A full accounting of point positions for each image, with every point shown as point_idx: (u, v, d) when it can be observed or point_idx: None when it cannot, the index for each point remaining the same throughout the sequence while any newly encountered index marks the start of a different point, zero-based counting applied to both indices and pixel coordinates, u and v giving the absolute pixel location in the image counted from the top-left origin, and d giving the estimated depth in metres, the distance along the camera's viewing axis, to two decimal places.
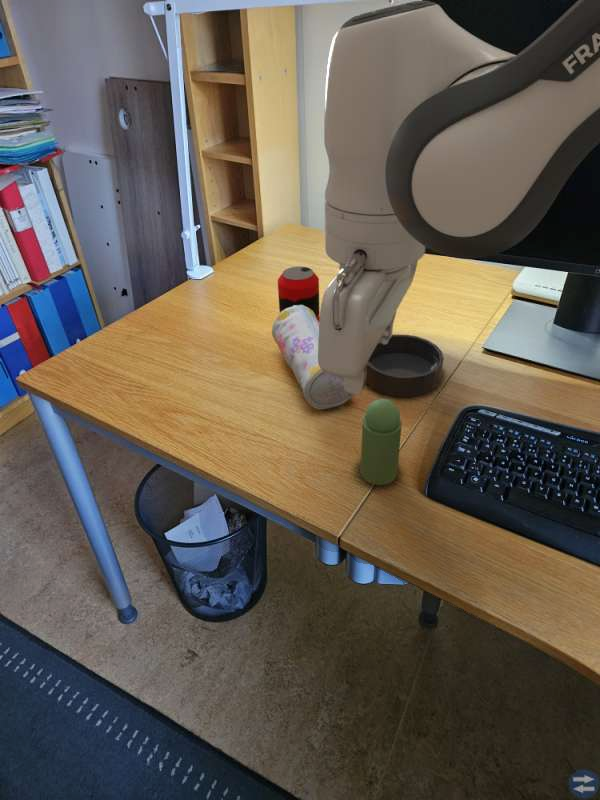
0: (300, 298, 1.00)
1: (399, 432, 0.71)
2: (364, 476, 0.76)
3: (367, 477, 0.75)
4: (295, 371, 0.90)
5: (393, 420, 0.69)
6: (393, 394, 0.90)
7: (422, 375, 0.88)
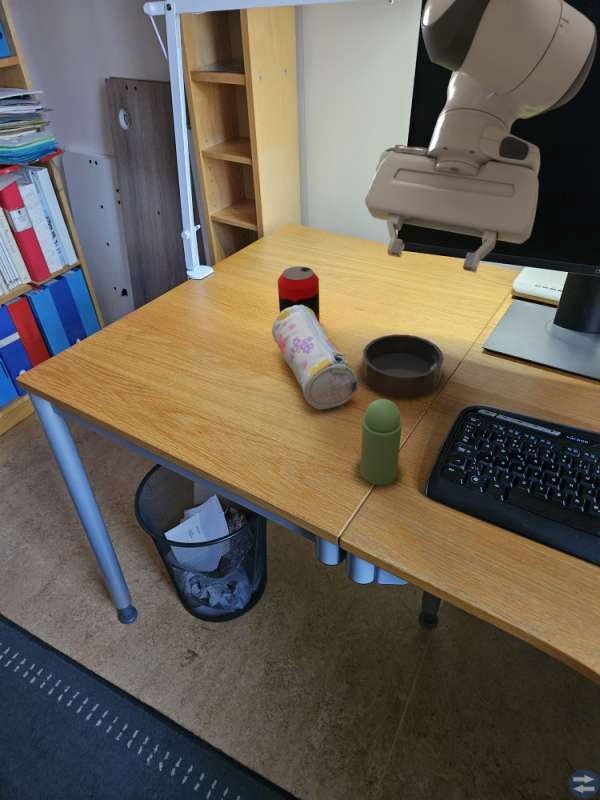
0: (300, 298, 1.00)
1: (399, 432, 0.71)
2: (364, 476, 0.76)
3: (367, 477, 0.75)
4: (295, 371, 0.90)
5: (393, 420, 0.69)
6: (393, 394, 0.90)
7: (422, 375, 0.88)
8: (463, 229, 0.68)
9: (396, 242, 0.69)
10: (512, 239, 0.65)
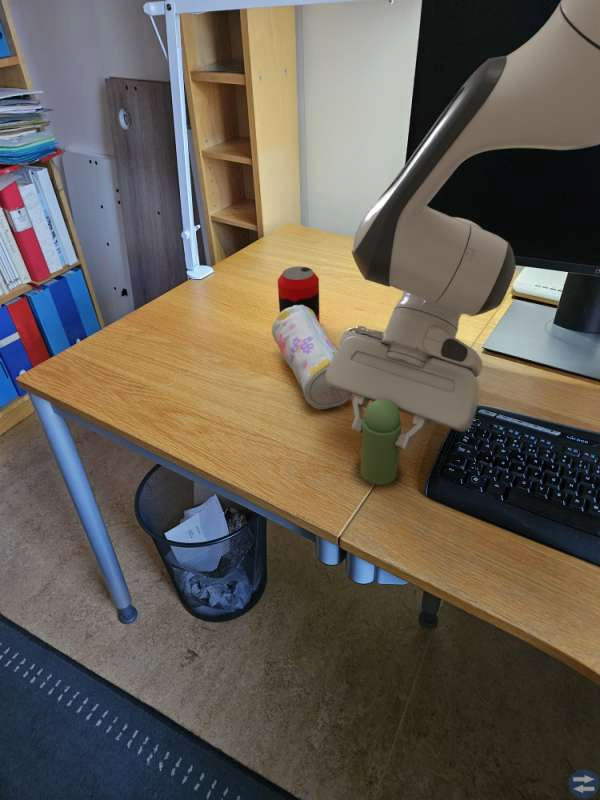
0: (300, 298, 1.00)
1: (399, 432, 0.71)
2: (364, 476, 0.76)
3: (367, 477, 0.75)
4: (295, 371, 0.90)
5: (392, 420, 0.69)
6: None
7: None
8: None
9: (359, 421, 0.74)
10: (453, 428, 0.70)
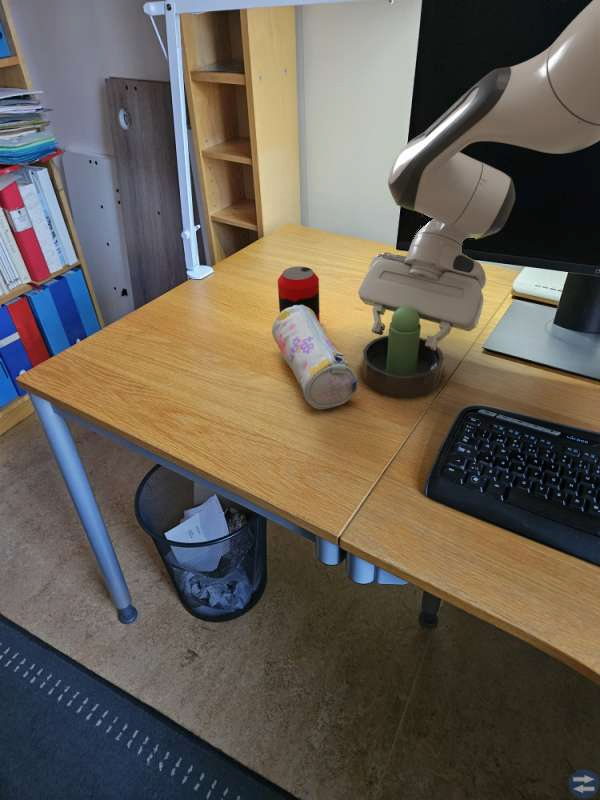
0: (300, 298, 1.00)
1: (419, 333, 0.89)
2: (389, 373, 0.94)
3: None
4: (295, 371, 0.90)
5: (414, 321, 0.87)
6: (393, 394, 0.90)
7: (422, 375, 0.88)
8: (428, 317, 0.91)
9: (378, 324, 0.92)
10: (462, 328, 0.88)
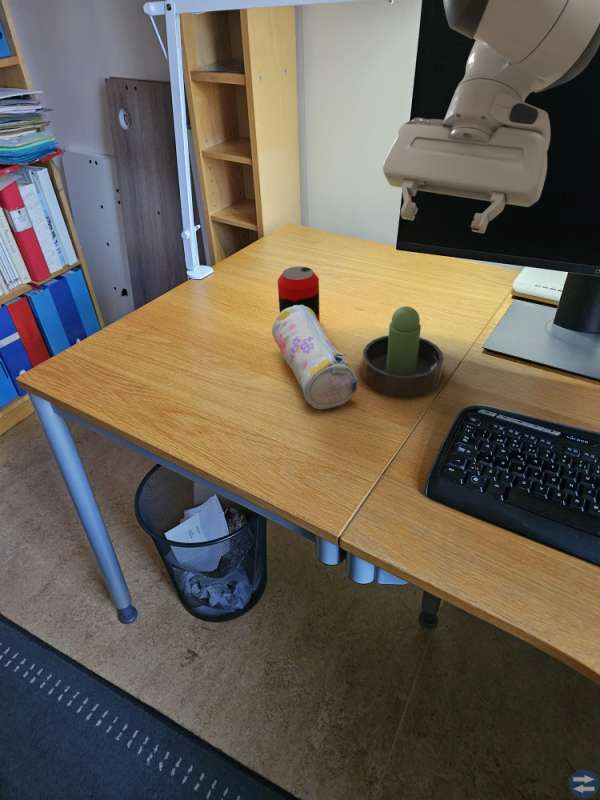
0: (300, 298, 1.00)
1: (419, 333, 0.89)
2: (389, 373, 0.94)
3: None
4: (295, 371, 0.90)
5: (414, 321, 0.87)
6: (393, 394, 0.90)
7: (422, 375, 0.88)
8: (474, 194, 0.71)
9: (409, 205, 0.72)
10: (520, 201, 0.67)
